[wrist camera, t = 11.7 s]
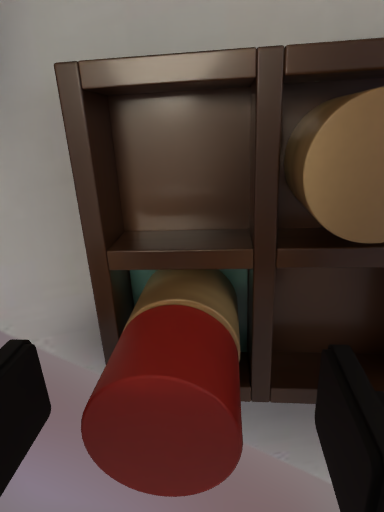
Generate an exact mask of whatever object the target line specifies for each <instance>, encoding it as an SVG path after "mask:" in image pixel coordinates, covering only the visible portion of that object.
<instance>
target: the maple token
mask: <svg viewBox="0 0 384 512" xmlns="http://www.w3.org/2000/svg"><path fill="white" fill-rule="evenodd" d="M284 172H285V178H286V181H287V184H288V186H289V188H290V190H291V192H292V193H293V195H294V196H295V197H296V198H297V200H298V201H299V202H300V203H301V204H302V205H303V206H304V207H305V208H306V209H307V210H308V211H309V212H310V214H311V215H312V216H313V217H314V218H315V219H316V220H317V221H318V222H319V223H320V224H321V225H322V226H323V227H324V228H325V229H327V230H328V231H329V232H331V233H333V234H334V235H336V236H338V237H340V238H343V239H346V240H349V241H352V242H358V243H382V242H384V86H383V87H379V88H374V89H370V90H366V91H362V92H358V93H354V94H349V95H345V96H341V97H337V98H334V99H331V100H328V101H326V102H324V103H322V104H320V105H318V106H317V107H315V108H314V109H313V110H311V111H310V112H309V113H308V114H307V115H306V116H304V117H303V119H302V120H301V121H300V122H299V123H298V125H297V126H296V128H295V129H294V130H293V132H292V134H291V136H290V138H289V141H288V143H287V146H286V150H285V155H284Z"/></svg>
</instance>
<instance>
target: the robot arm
mask: <svg viewBox="0 0 384 512" xmlns="http://www.w3.org/2000/svg"><path fill="white" fill-rule="evenodd" d="M50 412H51V404H50V401H49V396H48V392H47V388H46V385H45V381H44V377H43V373H42V369H41V365H40V361H39V358H38V354H37V350H36V347H35V345H33V344H31V342H30V341H29V340H9V341H8V342H7V343H6V344H5V345H4V346H3V347H2V348H1V349H0V496H1V495H2V493H3V492H4V490H5V488H6V487H7V485H8V483H9V482H10V480H11V479H12V477H13V475H14V474H15V472H16V470H17V469H18V467H19V465H20V464H21V462H22V460H23V459H24V457H25V455H26V454H27V452H28V451H29V449H30V447H31V446H32V444H33V442H34V441H35V439H36V437H37V436H38V434H39V432H40V431H41V429H42V427H43V426H44V424H45V422H46V421H47V419H48V417H49V415H50ZM315 425H316V430H317V433H318V436H319V440H320V443H321V447H322V450H323V454H324V457H325V460H326V464H327V467H328V471H329V474H330V478H331V481H332V484H333V488H334V491H335V495H336V498H337V501H338V505H339V508H340V512H384V392H383V391H375V390H374V388H373V386H372V385H371V383H370V381H369V379H368V377H367V376H366V374H365V372H364V370H363V368H362V366H361V365H360V363H359V361H358V359H357V357H356V356H355V354H354V352H353V350H352V348H351V347H350V345H332V344H330V345H329V346H328V349H323V350H322V352H321V361H320V371H319V380H318V389H317V399H316V408H315Z"/></svg>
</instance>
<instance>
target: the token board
mask: <svg viewBox="0 0 384 512" xmlns="http://www.w3.org/2000/svg"><path fill="white" fill-rule="evenodd" d="M54 69H55V75H56V80H57V86H58V92H59V98H60V104H61V109H62V115H63V121H64V127H65V132H66V138H67V144H68V150H69V155H70V161H71V167H72V173H73V178H74V184H75V190H76V196H77V202H78V207H79V213H80V219H81V225H82V230H83V236H84V242H85V248H86V253H87V259H88V265H89V271H90V276H91V282H92V288H93V294H94V300H95V305H96V311H97V317H98V323H99V328H100V334H101V340H102V346H103V351H104V357H105V363H106V365H107V363H108V361H109V358H110V356H111V354H112V352H113V350H114V348H115V346H116V344H117V342H118V340H119V338H120V336H121V334H122V332H123V330H124V327H125V325H126V323H127V321H128V319H129V317H130V315H131V313H132V311H133V309H134V307H135V305H136V303H137V301H138V299H139V297H140V295H141V293H142V291H143V289H144V287H145V285H146V283H147V281H148V280H149V278H150V277H151V276H152V275H153V274H154V273H155V272H156V271H157V270H187V269H218V270H219V271H220V272H222V273H223V274H224V275H225V276H226V277H227V278H228V280H229V281H230V282H231V284H232V286H233V288H234V290H235V293H236V296H237V304H238V320H239V336H240V361H239V379H240V398H241V401H245V402H250V401H252V402H269V401H270V402H274V403H305V404H316V399H317V389H318V380H319V371H320V361H321V352H322V350H323V349H328V346H329V345H330V344H332V345H350V347H351V348H352V350H353V352H354V354H355V356H356V357H357V359H358V361H359V363H360V365H361V366H362V368H363V370H364V372H365V374H366V376H367V377H368V379H369V381H370V383H371V385H372V386H373V388H374V390H375V391H383V392H384V242H382V243H358V242H352V241H349V240H346V239H343V238H340V237H338V236H336V235H334V234H333V233H331V232H329V231H328V230H327V229H325V228H324V227H323V226H322V225H321V224H320V223H319V222H318V221H317V220H316V219H315V218H314V217H313V216H312V215H311V214H310V212H309V211H308V210H307V209H306V208H305V207H304V206H303V205H302V204H301V203H300V202H299V201H298V200H297V198H296V197H295V196H294V195H293V193H292V192H291V190H290V188H289V186H288V184H287V181H286V178H285V172H284V155H285V150H286V146H287V143H288V141H289V138H290V136H291V134H292V132H293V130H294V129H295V128H296V126H297V125H298V123H299V122H300V121H301V120H302V119H303V117H304V116H306V115H307V114H308V113H309V112H310V111H311V110H313V109H314V108H315V107H317V106H318V105H320V104H322V103H324V102H326V101H328V100H331V99H334V98H337V97H341V96H345V95H349V94H354V93H358V92H362V91H366V90H370V89H374V88H379V87H383V86H384V38H371V39H358V40H345V41H332V42H319V43H306V44H293V45H287V46H285V48H284V46H283V45H279V46H266V47H258V48H257V49H256V48H255V47H251V48H238V49H225V50H212V51H199V52H186V53H173V54H160V55H147V56H135V57H122V58H109V59H96V60H83V61H78V62H77V61H72V62H59V63H55V64H54Z"/></svg>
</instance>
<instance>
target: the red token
mask: <svg viewBox="0 0 384 512" xmlns="http://www.w3.org/2000/svg"><path fill="white" fill-rule="evenodd" d="M81 432H82V439H83V442H84V445H85V447H86V449H87V451H88V453H89V455H90V456H91V458H92V459H93V461H94V462H95V463H96V464H97V465H98V467H99V468H100V469H102V470H103V471H104V472H105V473H106V474H107V475H109V476H110V477H111V478H113V479H114V480H116V481H118V482H119V483H121V484H123V485H125V486H127V487H129V488H132V489H135V490H137V491H140V492H144V493H148V494H152V495H158V496H169V497H170V496H171V497H172V496H173V497H177V496H188V495H194V494H197V493H201V492H204V491H207V490H209V489H212V488H213V487H215V486H217V485H219V484H220V483H221V482H223V481H224V480H225V479H226V478H227V477H228V476H229V475H230V474H231V473H232V472H233V470H234V469H235V468H236V466H237V464H238V462H239V459H240V457H241V453H242V446H243V437H242V417H241V398H240V379H239V359H238V351H237V347H236V344H235V342H234V339H233V338H232V336H231V334H230V333H229V331H228V330H227V329H226V328H225V326H223V325H222V324H221V323H220V322H219V321H218V320H217V319H215V318H214V317H213V316H211V315H209V314H208V313H206V312H204V311H201V310H199V309H196V308H193V307H189V306H183V305H164V306H158V307H155V308H151V309H149V310H147V311H144V312H142V313H141V314H139V315H138V316H136V317H135V318H134V319H133V320H131V321H130V323H129V324H128V325H127V326H126V327H125V329H124V331H123V332H122V334H121V336H120V338H119V340H118V342H117V344H116V346H115V348H114V350H113V352H112V354H111V356H110V358H109V361H108V363H107V365H106V367H105V369H104V371H103V373H102V375H101V377H100V379H99V381H98V383H97V385H96V387H95V389H94V391H93V393H92V395H91V397H90V399H89V401H88V403H87V405H86V407H85V410H84V412H83V415H82V420H81Z"/></svg>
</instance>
